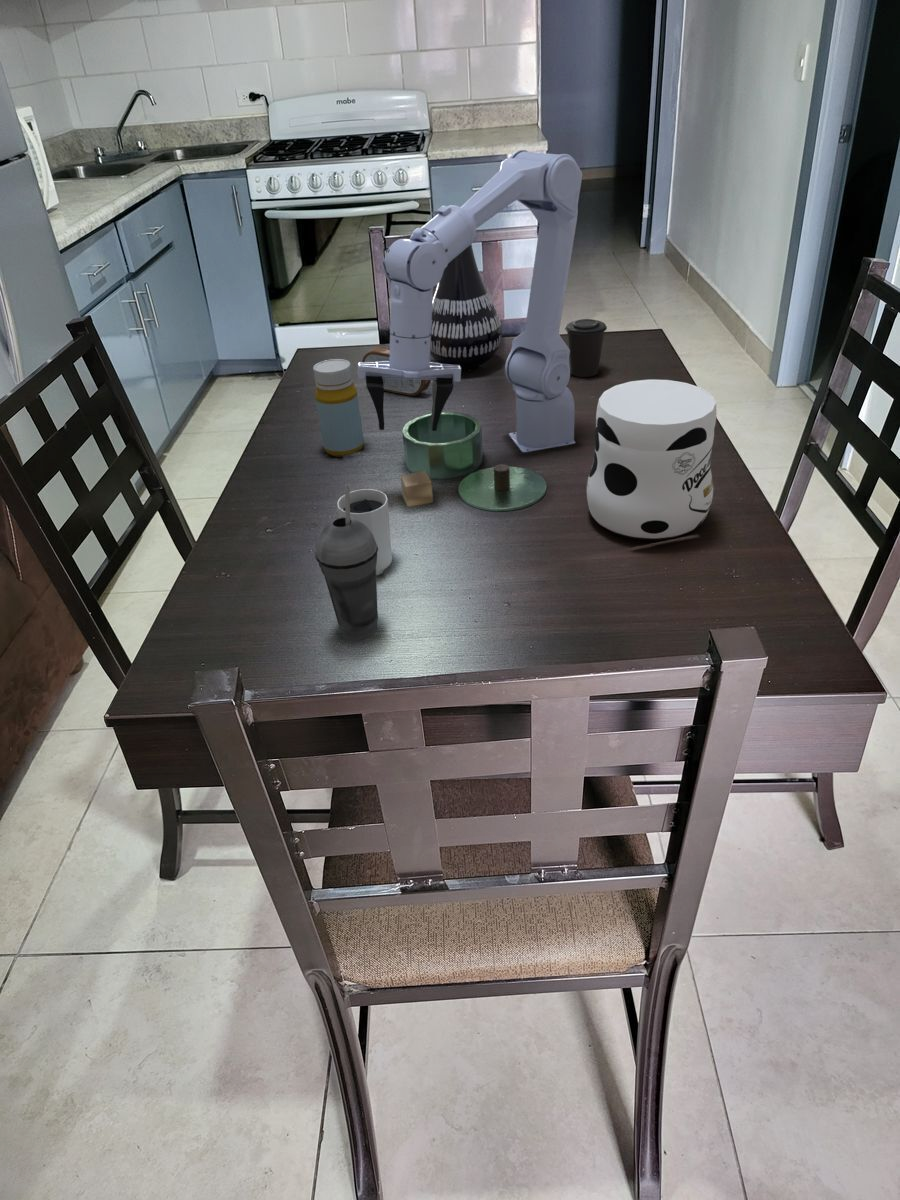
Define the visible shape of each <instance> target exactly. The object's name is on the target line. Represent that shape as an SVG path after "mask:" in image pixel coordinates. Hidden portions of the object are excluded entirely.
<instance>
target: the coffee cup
mask: <svg viewBox="0 0 900 1200" xmlns="http://www.w3.org/2000/svg"><path fill="white" fill-rule="evenodd" d="M564 330H565V332H566V333H567V334H566V335H567V344H568V345H567V346H568V348H569V350H570V355H569V366H570V374H571V375H573V376H575V377H579V378H590V377H594V376H596V375H597V374H598V373H599V367H600V362H601V354H602V348H603V342H604V335H605V331H607V330H608V326H607V325H606V323H605V322H603V321H601V320H597V319H593V318H582V319H577V320H573V321H570V322H568V323H567V324H566V326H565V327H564Z"/></svg>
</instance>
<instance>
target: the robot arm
mask: <svg viewBox="0 0 900 1200" xmlns="http://www.w3.org/2000/svg"><path fill="white" fill-rule="evenodd" d="M583 175H584V174H583V172H582V170H581V168H580V166H579V165H578V163H577V162H576V160H575V158H574V157H572V156H571V155H570V154H568V153H560V154H557V153H545V152H537V151H528V150H527V149H520V150H516V151H514V152H513V153H512V154H511V155H510V156H509V157H508V158H505V159H503V160H502V161H501V164H500V168H499V170H498V171H497V172H496V173H495V174H494V175H493V176H492V177H491V178H490V179H488V181H487V182H486V183H485V184H483V186H481V188H479V189H478V190H477V191H476V192H475V193H474V194H473V195H472V196H471V197H470V198H469V199H467V201H466V202H464V204H462V206H458V205H455V204H450V205H448V206H447V205H441V206H440V207H439V208H437V209H436V213H437V214H436V215H435V216H434V217H433V218H431V219H430V220H429V221H428V222H426V223H425V224H424V225H422V227H417V228H416V229H414V230H413V231H412V234H411V236H410V237H409V239H408V238H399V239H397V240H395V241H394V242H392V244H391V245H390V246H389V247H388V248H387V250H386V252H385V256H384V260H381V269H382V273H383V275H384V277H385V278H386V280H387V282H388V292H389V294H390V307H389V308H390V313H389V314H390V317H389V318H390V319H389V348H390V361H382V362H365V363H362V361H361V362H357V380H360V381H361V380H362V381H363V380H365V386H366V388H367V391H368V393H369V395H370V398H371V401H372V403H373V405H374V409H375V412H376V415H377V416H376V417H377V420H378V430H379V431H385V413H384V404H385V403H384V402H385V401H384V400H385V399H384V397H385V391H384V381H383V379H414V380H431V381H432V407H431V413H430V414H431V429H432V431H437V425H438V421H439V418H440V415H441V412H443V410H444V407H445V405H446V403H447V401H448V399H449V398H450V396H451V394H452V392H453V390H454V383H460V382H461V379H462V378H461V377H462V376H461V375H462V372H461V368H460V366H459V365H449V364H440V363H439V362H431V354H430V348H431V322H432V300H433V297H434V287H437V285H438V283H439V282H440V280H441V278H442V275H443V271H444V269H445V268H446V267H447V266H448V265H447V264H448V263H449V262H451V261H452V260H453V259H454V258H455V257H457V256H458V255H459V254H460V253H461V252H462V251H464V250H465V249H466V248H467V247H468V246H469V245H471V244H473V243H474V242H475V241H476V237H477V229H478V228H479V227H481V226H482V225H483V224H485V223H486V222H488V221H489V220H491V219H492V218H493V217H494V216H496V215H497V214H499V213H500V212H502V211H503V210H504V209H506V208H507V207H508V206H510V205H511V204H513V203H514V202H515V201H517V202H519V203H520V204H522V205H523V206H524V207H526V208H527V209H529V211H530V212H531V213H532V215H533V216H534V218H535V219H536V221H537V223H538V224H539V228H538V234H537V241H536V246H535V247H536V248H535V255H534V262H533V269H532V275H531V284H530V291H529V296H528V297H529V298H528V305H527V313H526V320H525V327H524V331H522V332H521V333H520V334H518V335H517V336H515V337H514V338H513V339H512V343H511V349H510V352H509V354H508V356H507V358H506V361H505V364H504V375H505V378H506V380H507V381H508V382H509V384H512V391H514V393H515V432H509V433H508V436H509V437H510V439H512V441H513V442H514V443H515V445H516V446H517V447H518V449H519V450H520V451H521V452H522V453H528V452H529V453H530V452H534V451H540V450H545V449H551V448H557V447H563V446H568V445H573V444H576V441H575V418H576V416H575V414H576V413H575V411H576V409H575V399H574V396H573V393H572V391H571V389H570V388H569V387H567V386H568V384H569V382H570V378H571V367H570V356H569V355H570V350H569V346H568V345H567V343H566V342H565V341H564V339H563V338H562V336H561V335H560V330H561V329H560V328H561V323H562V316H563V310H564V304H565V297H566V292H567V291H566V290H567V284H568V279H569V273H570V265H571V260H572V254H573V247H574V241H575V234H576V228H577V223H578V222H577V221H578V214H579V207H578V206H579V200H580V193H581V187H582V179H583ZM453 382H454V383H453Z"/></svg>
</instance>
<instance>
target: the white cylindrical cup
mask: <svg viewBox="0 0 900 1200" xmlns="http://www.w3.org/2000/svg"><path fill="white" fill-rule="evenodd" d="M336 504H337V509H338V514H339V518H340V517H345V494H343V495H342V496H340V497H339V498H338V500H337V502H336ZM350 517H351V518H355V519H357V520H359V521H361V522H363V523H364V524H365V525H366V526H367V527H368V528H369V529H370V530H371V532H372V534H373V536H374V539H375V541H376V544H377V547H378V552H377V564H376V576H379V575H382V574H384V573H385V571H384V570H386V569H387V568H388V567H389V566H390V565H391V563H392V561H393V556H392V554H393V553H392V542H391V541H392V539H391V527H390V512H389V499H388V497H387V494H386V493H384V492H383V491H382V490H378V489H373V488H362V489H355V490H352V491H350Z"/></svg>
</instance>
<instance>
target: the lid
mask: <svg viewBox="0 0 900 1200" xmlns="http://www.w3.org/2000/svg"><path fill="white" fill-rule="evenodd" d="M457 490H458V496H459V498H460V499H461V500H462V502H463V503H465V504H467V505H468V506H470V507H472V508H475V509H478V510H483V511H487V512H511V511H517V510H521V509H525V508H528V507H530V506H533V505H535V504H537V503H538V502H540V501H541V500H542V499H543V498H544V497H545V495H546V494H547V482H546V480H545V478H543V476H542V475H540V474H539V473H537V472H536V471H533V470H531V469H527V468H524V467H519V466H509V465H507V464H501V463H500V464H497V465H495V466H491V467H486V468H483V469H482V468H481V469H479V470H475V471H473V472H471V473H469V474H467V475H466V476H465V477H464V478H463V479H462V480H461V481H460V483H459V485H458V488H457Z"/></svg>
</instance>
